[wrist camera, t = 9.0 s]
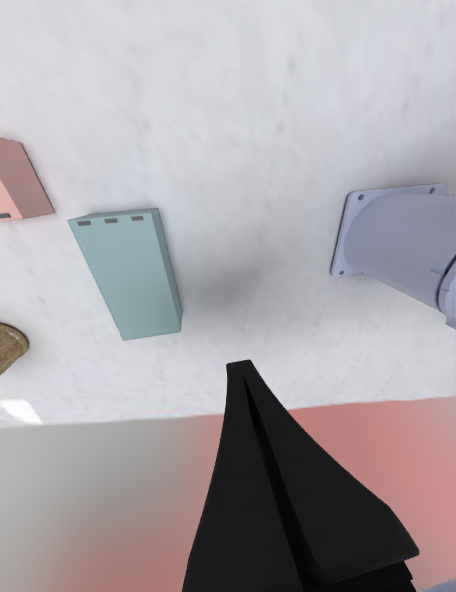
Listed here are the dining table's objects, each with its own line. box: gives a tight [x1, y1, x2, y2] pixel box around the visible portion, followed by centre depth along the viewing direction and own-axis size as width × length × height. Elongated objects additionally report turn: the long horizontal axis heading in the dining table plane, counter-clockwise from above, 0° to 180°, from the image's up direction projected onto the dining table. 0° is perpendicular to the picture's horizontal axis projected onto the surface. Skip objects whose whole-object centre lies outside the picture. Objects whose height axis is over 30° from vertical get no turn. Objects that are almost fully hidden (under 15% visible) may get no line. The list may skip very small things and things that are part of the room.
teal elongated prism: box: [67, 208, 182, 341], centre depth 16 cm, size 5×10×3 cm, turn 4°
